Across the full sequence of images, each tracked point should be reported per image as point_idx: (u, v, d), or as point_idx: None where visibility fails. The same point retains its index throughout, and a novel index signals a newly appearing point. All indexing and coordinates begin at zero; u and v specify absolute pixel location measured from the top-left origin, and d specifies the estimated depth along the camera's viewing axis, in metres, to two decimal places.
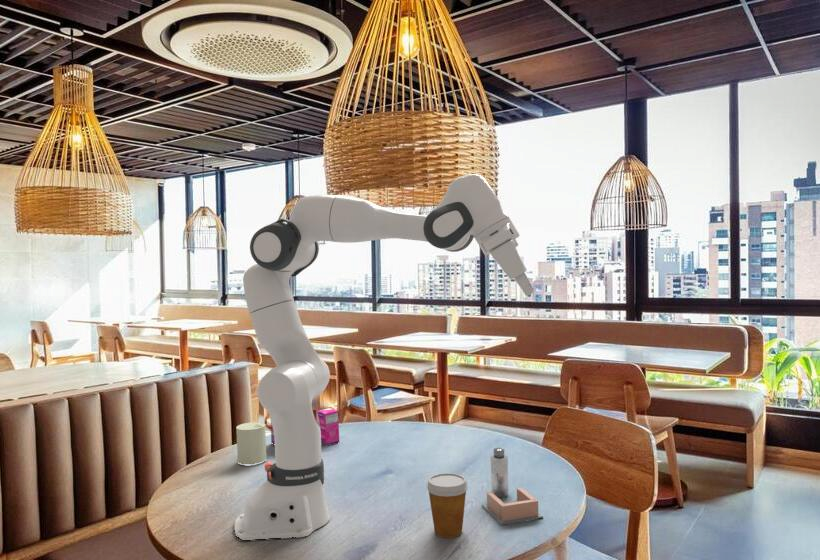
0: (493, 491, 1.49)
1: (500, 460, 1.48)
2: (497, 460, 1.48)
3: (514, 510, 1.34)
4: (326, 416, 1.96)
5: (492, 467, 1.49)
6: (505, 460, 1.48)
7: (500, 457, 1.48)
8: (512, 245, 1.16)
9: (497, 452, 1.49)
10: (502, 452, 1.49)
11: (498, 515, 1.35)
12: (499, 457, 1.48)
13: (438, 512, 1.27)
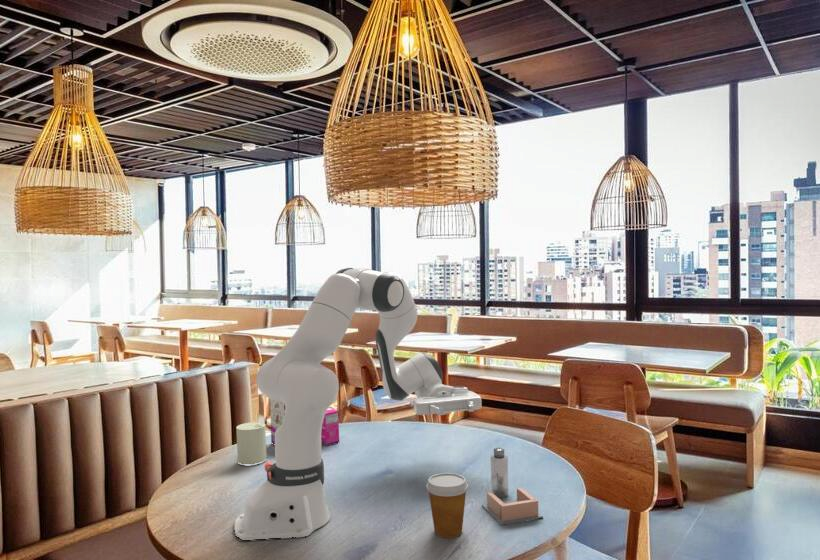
0: (493, 491, 1.49)
1: (500, 460, 1.48)
2: (497, 460, 1.48)
3: (514, 510, 1.34)
4: (326, 416, 1.96)
5: (492, 467, 1.49)
6: (505, 460, 1.48)
7: (500, 457, 1.48)
8: None
9: (497, 452, 1.49)
10: (502, 452, 1.49)
11: (498, 515, 1.35)
12: (499, 457, 1.48)
13: (438, 512, 1.27)
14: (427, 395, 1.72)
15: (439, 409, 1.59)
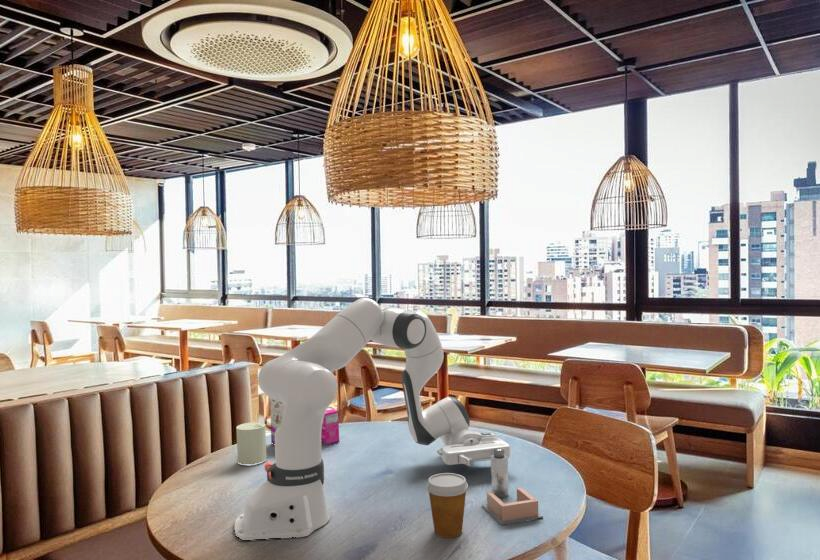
0: (493, 491, 1.49)
1: (500, 460, 1.48)
2: (497, 460, 1.48)
3: (514, 510, 1.34)
4: (326, 416, 1.96)
5: (492, 467, 1.49)
6: (505, 460, 1.48)
7: (500, 457, 1.48)
8: None
9: (497, 452, 1.49)
10: (502, 452, 1.49)
11: (498, 515, 1.35)
12: (499, 457, 1.48)
13: (438, 512, 1.27)
14: (454, 442, 1.70)
15: (469, 460, 1.57)
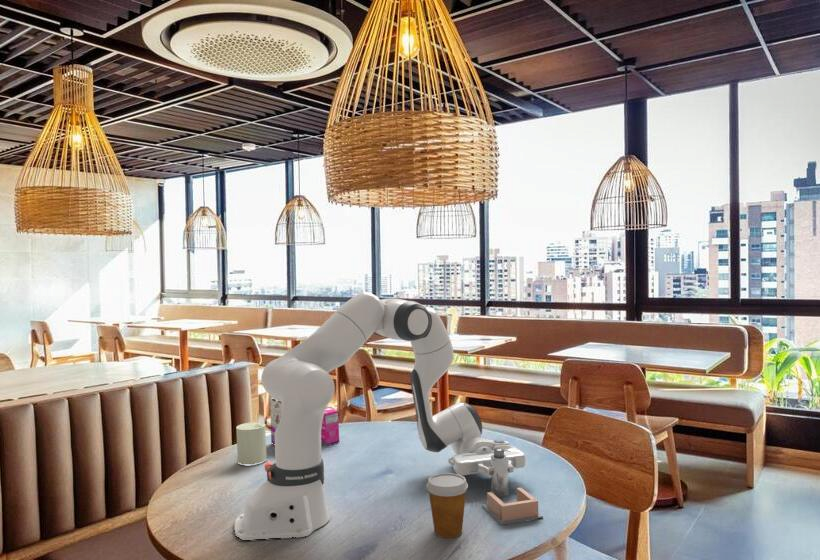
0: (493, 491, 1.49)
1: (500, 460, 1.48)
2: (497, 460, 1.48)
3: (514, 510, 1.34)
4: (326, 416, 1.96)
5: (492, 467, 1.49)
6: (505, 460, 1.48)
7: (500, 457, 1.48)
8: None
9: (497, 452, 1.49)
10: (502, 452, 1.49)
11: (498, 515, 1.35)
12: (499, 457, 1.48)
13: (438, 512, 1.27)
14: (466, 450, 1.61)
15: (489, 469, 1.48)
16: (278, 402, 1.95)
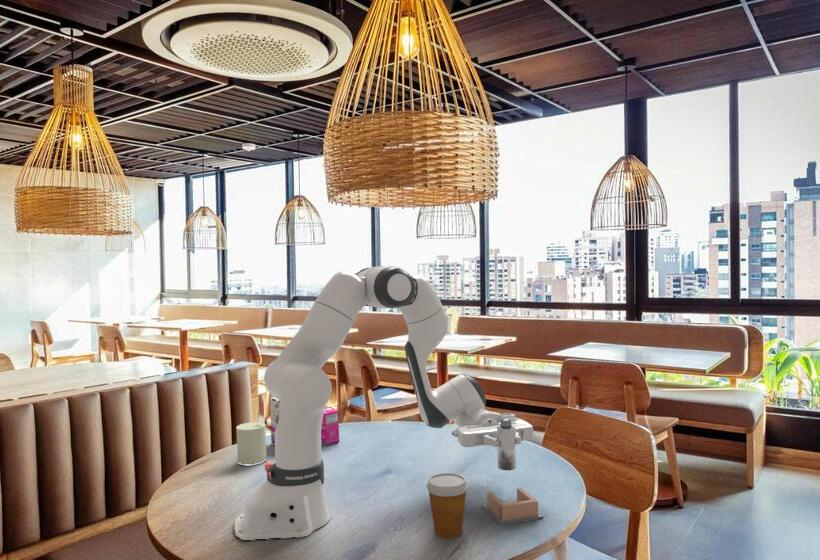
0: (499, 463, 1.41)
1: (507, 430, 1.39)
2: (504, 430, 1.39)
3: (514, 510, 1.34)
4: (326, 416, 1.96)
5: (499, 438, 1.41)
6: (512, 430, 1.40)
7: (507, 427, 1.40)
8: None
9: (504, 422, 1.40)
10: (509, 422, 1.40)
11: (498, 515, 1.35)
12: (506, 428, 1.40)
13: (438, 512, 1.27)
14: (470, 423, 1.53)
15: (495, 440, 1.40)
16: (278, 402, 1.95)
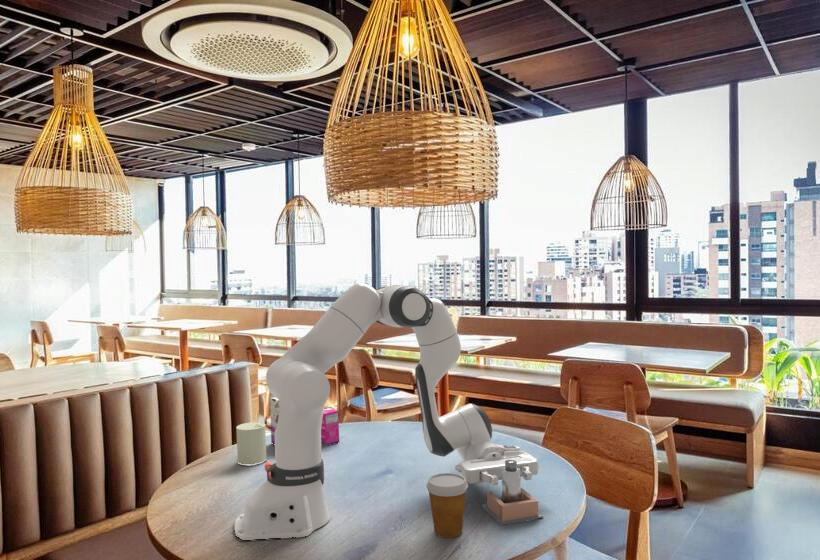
0: None
1: (512, 473, 1.37)
2: (509, 473, 1.37)
3: (514, 510, 1.34)
4: (326, 416, 1.96)
5: (503, 481, 1.38)
6: (518, 473, 1.37)
7: (512, 470, 1.37)
8: None
9: (509, 464, 1.37)
10: (514, 465, 1.37)
11: (498, 515, 1.35)
12: (511, 470, 1.37)
13: (438, 512, 1.27)
14: (474, 456, 1.50)
15: (494, 478, 1.37)
16: (278, 402, 1.95)
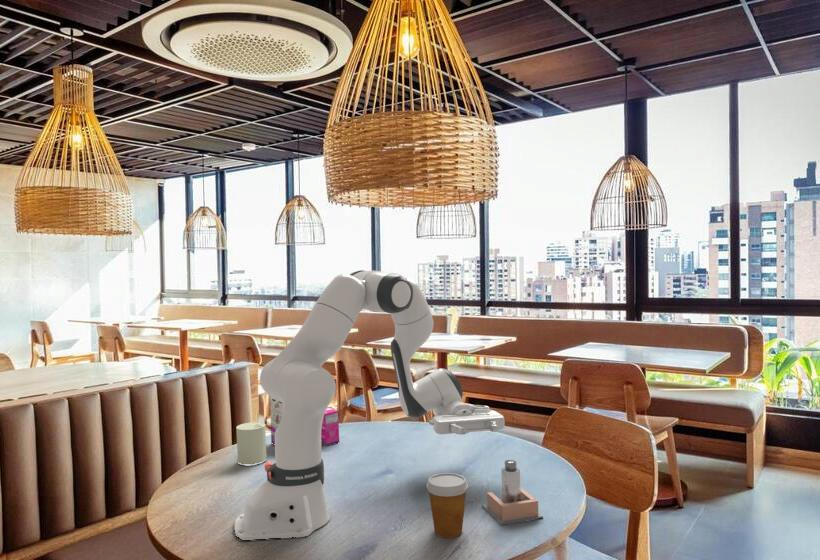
0: None
1: (512, 473, 1.36)
2: (509, 474, 1.36)
3: (514, 510, 1.34)
4: (326, 416, 1.96)
5: (503, 481, 1.38)
6: (517, 473, 1.37)
7: (512, 470, 1.37)
8: None
9: (509, 465, 1.37)
10: (514, 465, 1.37)
11: (498, 515, 1.35)
12: (510, 471, 1.37)
13: (438, 512, 1.27)
14: (447, 413, 1.64)
15: (461, 428, 1.51)
16: (278, 402, 1.95)
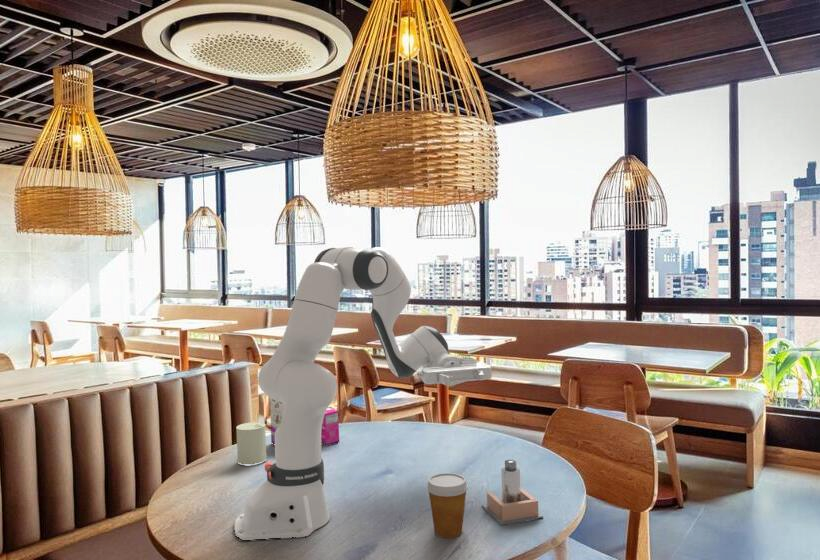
0: None
1: (512, 473, 1.37)
2: (509, 473, 1.37)
3: (514, 510, 1.34)
4: (326, 416, 1.96)
5: (503, 481, 1.38)
6: (517, 473, 1.37)
7: (512, 470, 1.37)
8: None
9: (508, 464, 1.37)
10: (514, 464, 1.38)
11: (498, 515, 1.35)
12: (510, 470, 1.37)
13: (438, 512, 1.27)
14: (435, 366, 1.67)
15: (449, 377, 1.53)
16: (278, 402, 1.95)
